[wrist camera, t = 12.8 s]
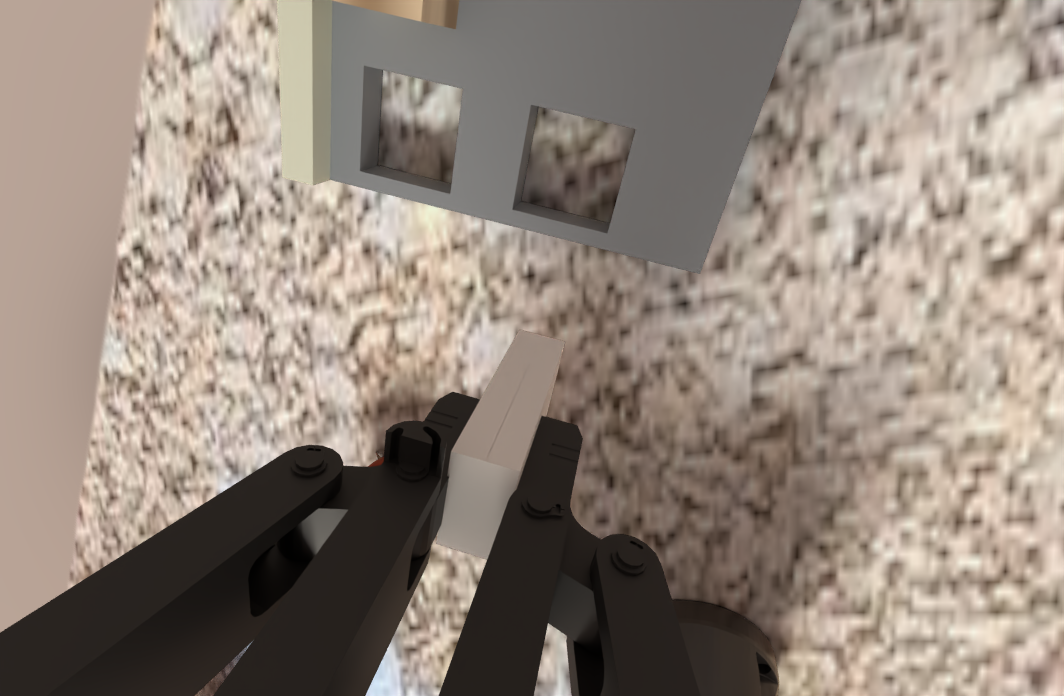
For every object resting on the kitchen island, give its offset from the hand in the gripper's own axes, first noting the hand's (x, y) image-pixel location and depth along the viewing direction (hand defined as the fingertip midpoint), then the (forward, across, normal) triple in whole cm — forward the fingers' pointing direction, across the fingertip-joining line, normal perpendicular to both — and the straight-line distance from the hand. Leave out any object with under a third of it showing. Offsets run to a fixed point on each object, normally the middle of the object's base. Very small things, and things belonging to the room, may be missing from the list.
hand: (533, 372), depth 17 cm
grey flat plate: (+20, +6, -8) cm, 22 cm away
